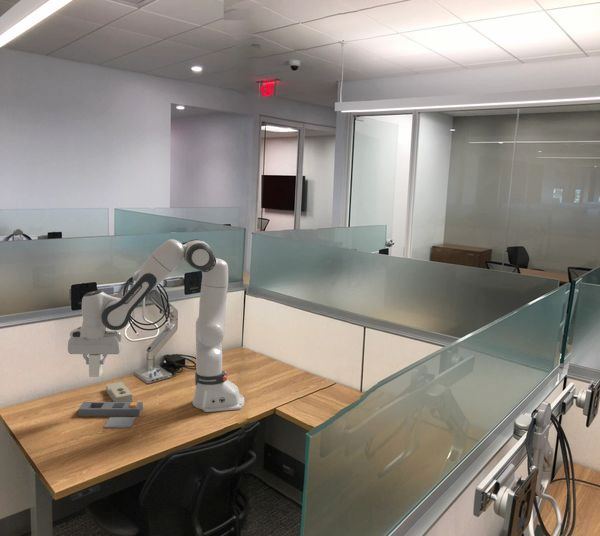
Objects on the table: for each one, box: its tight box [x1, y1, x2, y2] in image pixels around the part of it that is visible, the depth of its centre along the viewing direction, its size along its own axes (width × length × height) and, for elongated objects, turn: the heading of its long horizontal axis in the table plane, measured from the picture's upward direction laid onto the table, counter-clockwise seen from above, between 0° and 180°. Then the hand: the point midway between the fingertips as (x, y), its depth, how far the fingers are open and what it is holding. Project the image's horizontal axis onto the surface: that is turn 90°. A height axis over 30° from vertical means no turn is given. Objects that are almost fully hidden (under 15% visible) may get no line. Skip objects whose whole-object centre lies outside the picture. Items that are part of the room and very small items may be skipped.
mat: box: [103, 416, 136, 429], centre depth 203 cm, size 10×8×1 cm
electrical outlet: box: [105, 381, 134, 402], centre depth 227 cm, size 7×4×18 cm
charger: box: [87, 354, 103, 378], centre depth 208 cm, size 4×4×11 cm
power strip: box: [77, 401, 144, 417], centre depth 211 cm, size 24×7×4 cm, turn 95°
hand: (95, 364), depth 208 cm, fingers closed on charger, 4 cm apart
